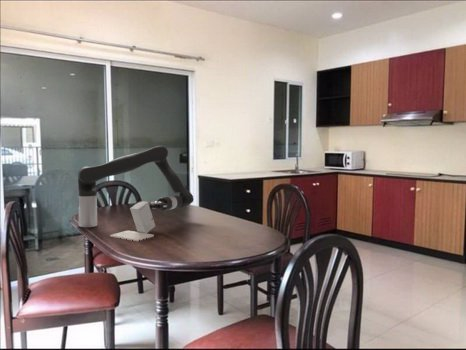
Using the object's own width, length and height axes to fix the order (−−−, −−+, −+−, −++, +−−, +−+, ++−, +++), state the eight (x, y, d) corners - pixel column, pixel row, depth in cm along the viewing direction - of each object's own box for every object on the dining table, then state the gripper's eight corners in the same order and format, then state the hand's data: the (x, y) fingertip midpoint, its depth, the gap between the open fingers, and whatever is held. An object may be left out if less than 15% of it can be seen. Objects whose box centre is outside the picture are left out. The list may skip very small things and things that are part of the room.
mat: (110, 236, 188) (110, 235, 188) (127, 231, 199) (127, 230, 199) (137, 241, 179) (137, 239, 179) (154, 236, 190) (154, 234, 190)
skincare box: (146, 234, 193) (137, 209, 187) (137, 233, 196) (128, 208, 190) (156, 225, 200) (148, 201, 194) (147, 224, 203) (139, 200, 197)
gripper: (158, 195, 215) (136, 199, 200) (176, 197, 209) (156, 201, 194) (158, 208, 216) (136, 213, 201) (176, 211, 209) (156, 215, 194)
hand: (146, 207), depth 197 cm, fingers closed
